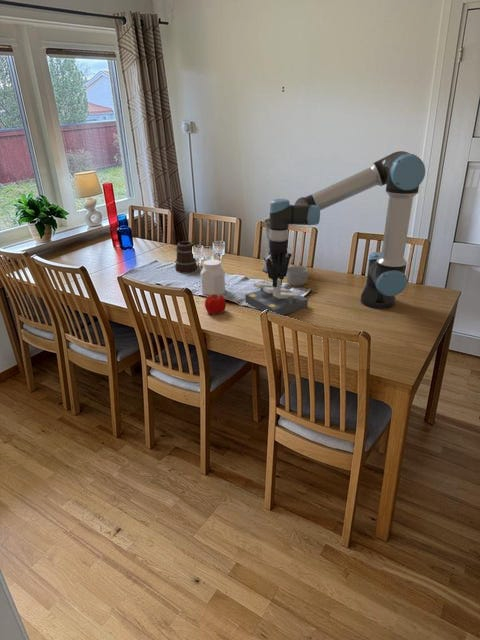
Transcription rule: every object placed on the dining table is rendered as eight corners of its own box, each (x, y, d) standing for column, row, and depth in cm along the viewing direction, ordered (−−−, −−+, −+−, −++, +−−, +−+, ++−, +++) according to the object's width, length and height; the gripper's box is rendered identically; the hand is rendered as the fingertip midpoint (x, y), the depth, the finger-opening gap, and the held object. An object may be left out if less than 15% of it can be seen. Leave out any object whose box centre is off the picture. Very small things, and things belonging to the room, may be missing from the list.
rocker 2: (288, 293, 198) (289, 290, 198) (268, 293, 191) (269, 289, 191) (282, 290, 201) (283, 287, 201) (262, 290, 194) (263, 286, 194)
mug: (189, 274, 238) (187, 247, 231) (171, 270, 243) (169, 244, 236) (205, 265, 250) (203, 239, 243) (187, 262, 255) (185, 237, 248)
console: (307, 307, 196) (308, 291, 193) (274, 318, 187) (274, 302, 183) (277, 292, 212) (277, 278, 208) (245, 302, 202) (245, 287, 199)
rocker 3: (299, 298, 193) (300, 294, 193) (278, 298, 186) (279, 294, 185) (293, 295, 196) (293, 292, 196) (272, 295, 189) (273, 291, 189)
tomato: (201, 312, 194) (200, 296, 190) (216, 306, 199) (216, 290, 196) (215, 318, 188) (215, 302, 184) (230, 312, 193) (230, 296, 190)
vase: (259, 274, 236) (260, 222, 223) (266, 265, 248) (266, 216, 235) (283, 276, 233) (285, 224, 220) (288, 267, 244) (290, 217, 231)
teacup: (306, 288, 216) (307, 273, 212) (284, 287, 218) (284, 272, 214) (308, 278, 228) (308, 264, 224) (287, 277, 230) (287, 263, 226)
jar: (228, 290, 216) (227, 260, 209) (219, 297, 208) (217, 266, 202) (208, 286, 221) (206, 257, 214) (198, 293, 213) (196, 263, 206)
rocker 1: (278, 288, 204) (279, 285, 203) (258, 288, 196) (259, 284, 196) (273, 286, 207) (274, 283, 206) (253, 285, 199) (254, 282, 199)
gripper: (285, 234, 183) (283, 287, 193) (259, 239, 176) (259, 294, 187) (297, 238, 177) (294, 292, 188) (271, 243, 171) (270, 299, 181)
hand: (277, 293), depth 187 cm, fingers closed
